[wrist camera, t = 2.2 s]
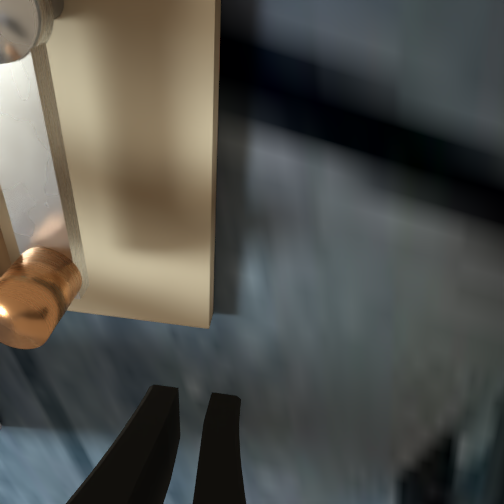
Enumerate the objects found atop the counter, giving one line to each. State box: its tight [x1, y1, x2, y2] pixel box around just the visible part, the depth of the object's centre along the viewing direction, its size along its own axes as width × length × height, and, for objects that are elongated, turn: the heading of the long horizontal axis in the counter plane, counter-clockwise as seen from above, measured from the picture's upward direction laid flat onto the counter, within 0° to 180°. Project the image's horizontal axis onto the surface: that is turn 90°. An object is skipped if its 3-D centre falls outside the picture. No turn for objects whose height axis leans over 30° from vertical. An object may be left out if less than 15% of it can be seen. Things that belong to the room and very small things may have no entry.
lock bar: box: [0, 0, 90, 349], centre depth 12 cm, size 10×2×3 cm, turn 176°
